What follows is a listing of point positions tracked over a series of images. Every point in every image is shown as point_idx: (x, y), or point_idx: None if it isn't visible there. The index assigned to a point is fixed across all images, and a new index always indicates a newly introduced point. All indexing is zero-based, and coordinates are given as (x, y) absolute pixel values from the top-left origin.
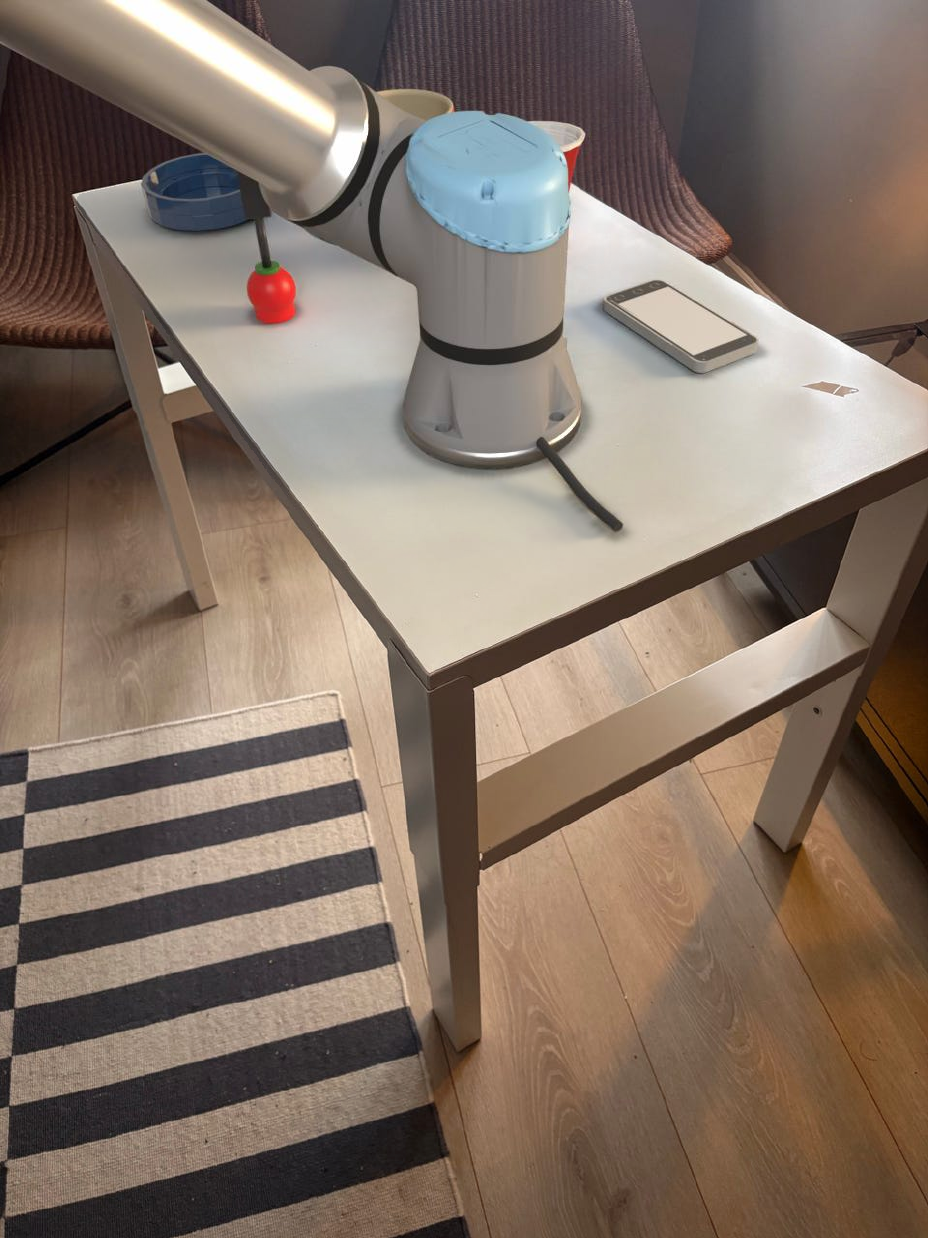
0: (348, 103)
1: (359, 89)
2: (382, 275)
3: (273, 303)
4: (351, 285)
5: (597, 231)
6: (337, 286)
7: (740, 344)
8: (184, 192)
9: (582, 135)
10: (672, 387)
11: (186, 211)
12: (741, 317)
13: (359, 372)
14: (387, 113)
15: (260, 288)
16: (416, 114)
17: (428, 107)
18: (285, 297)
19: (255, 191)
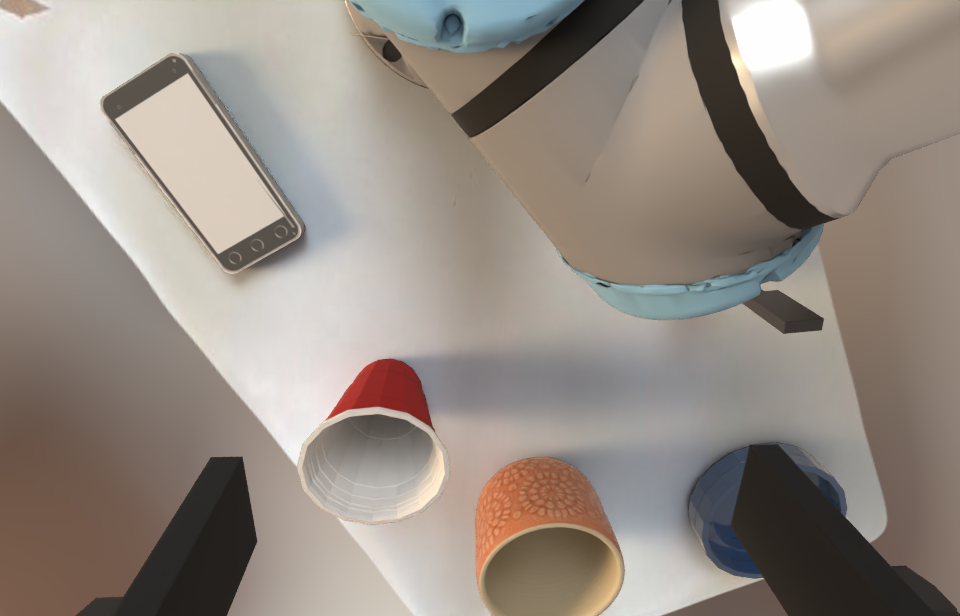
0: (769, 19)
1: (745, 60)
2: (568, 333)
3: None
4: (606, 313)
5: (306, 416)
6: (622, 312)
7: (124, 95)
8: None
9: (301, 461)
10: (221, 26)
11: (794, 457)
12: (128, 193)
13: None
14: (663, 85)
15: None
16: (522, 601)
17: (508, 604)
18: None
19: (778, 304)
